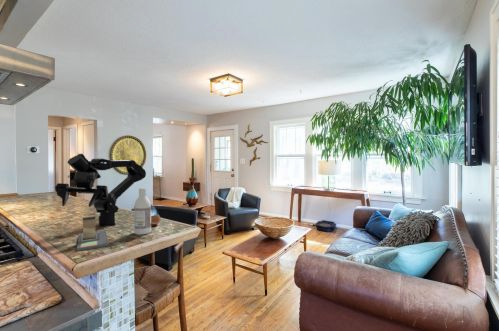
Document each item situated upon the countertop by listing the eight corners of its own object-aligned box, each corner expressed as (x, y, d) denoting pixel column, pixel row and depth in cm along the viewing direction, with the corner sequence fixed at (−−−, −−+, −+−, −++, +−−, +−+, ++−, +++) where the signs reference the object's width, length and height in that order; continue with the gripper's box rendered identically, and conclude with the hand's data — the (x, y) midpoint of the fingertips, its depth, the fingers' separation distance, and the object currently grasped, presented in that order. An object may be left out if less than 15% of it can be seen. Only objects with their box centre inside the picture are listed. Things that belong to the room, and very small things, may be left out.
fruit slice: (149, 228, 116) (149, 218, 116) (139, 226, 119) (139, 216, 119) (163, 224, 123) (163, 214, 123) (154, 223, 126) (153, 213, 126)
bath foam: (151, 233, 108) (151, 188, 107) (134, 235, 105) (134, 189, 104) (150, 229, 114) (150, 186, 114) (134, 231, 111) (133, 187, 111)
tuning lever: (82, 239, 95) (82, 217, 95) (96, 237, 98) (95, 216, 97) (82, 240, 94) (82, 218, 94) (96, 238, 96) (95, 217, 96)
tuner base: (80, 236, 104) (80, 227, 104) (106, 232, 109) (106, 224, 109) (77, 251, 87) (77, 240, 87) (108, 246, 92) (107, 236, 92)
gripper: (59, 164, 104) (43, 191, 92) (109, 167, 109) (100, 193, 98) (65, 182, 110) (50, 210, 99) (111, 185, 116) (102, 211, 105)
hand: (76, 205), depth 100 cm, fingers open, 9 cm apart
